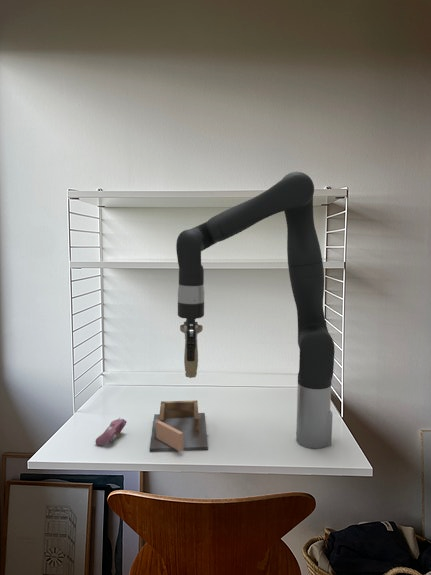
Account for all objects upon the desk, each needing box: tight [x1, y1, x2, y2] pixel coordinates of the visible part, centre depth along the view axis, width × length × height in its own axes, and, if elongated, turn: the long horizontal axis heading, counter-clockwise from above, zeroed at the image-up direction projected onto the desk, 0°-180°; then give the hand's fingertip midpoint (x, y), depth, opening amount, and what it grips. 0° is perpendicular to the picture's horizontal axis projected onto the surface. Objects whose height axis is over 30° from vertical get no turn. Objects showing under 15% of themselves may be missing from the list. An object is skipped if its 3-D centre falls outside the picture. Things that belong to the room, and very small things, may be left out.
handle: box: [179, 323, 204, 379], centre depth 138 cm, size 5×6×15 cm
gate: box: [153, 419, 183, 452], centre depth 133 cm, size 12×2×5 cm, turn 44°
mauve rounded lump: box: [94, 417, 128, 446], centre depth 138 cm, size 10×5×7 cm, turn 164°
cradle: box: [149, 400, 209, 453], centre depth 142 cm, size 16×22×6 cm
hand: (190, 358), depth 138 cm, fingers closed on handle, 4 cm apart
